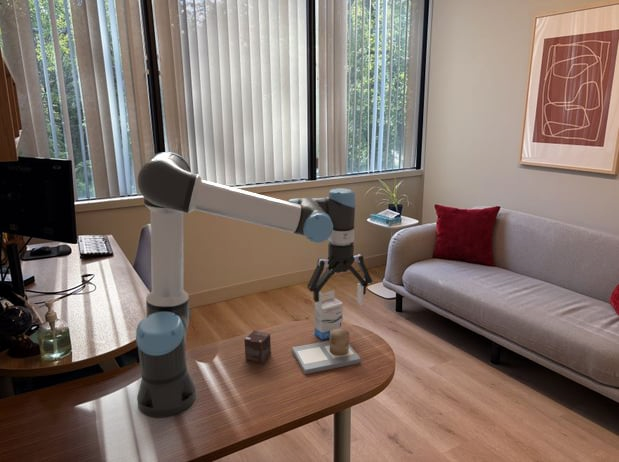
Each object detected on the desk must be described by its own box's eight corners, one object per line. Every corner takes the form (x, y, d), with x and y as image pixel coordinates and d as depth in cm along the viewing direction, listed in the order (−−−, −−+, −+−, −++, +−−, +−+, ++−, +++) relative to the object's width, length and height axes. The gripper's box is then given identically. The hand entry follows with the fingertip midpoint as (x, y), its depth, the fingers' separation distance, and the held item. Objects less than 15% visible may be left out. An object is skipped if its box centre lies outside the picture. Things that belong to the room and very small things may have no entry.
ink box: (322, 340, 154) (322, 300, 150) (314, 334, 158) (314, 295, 154) (342, 333, 159) (343, 294, 155) (334, 327, 163) (334, 289, 159)
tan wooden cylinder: (326, 347, 148) (327, 330, 146) (344, 344, 150) (344, 327, 148) (333, 357, 142) (334, 339, 140) (351, 353, 144) (352, 336, 142)
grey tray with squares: (305, 374, 136) (305, 369, 136) (292, 351, 148) (292, 347, 148) (360, 362, 142) (360, 358, 142) (343, 341, 154) (344, 337, 153)
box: (271, 354, 147) (270, 334, 144) (261, 364, 141) (261, 343, 139) (255, 350, 149) (254, 329, 147) (244, 359, 144) (243, 338, 142)
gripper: (304, 250, 128) (305, 319, 134) (385, 241, 136) (381, 306, 142) (296, 242, 135) (297, 308, 141) (373, 233, 143) (370, 296, 149)
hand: (339, 307), depth 142 cm, fingers open, 13 cm apart
